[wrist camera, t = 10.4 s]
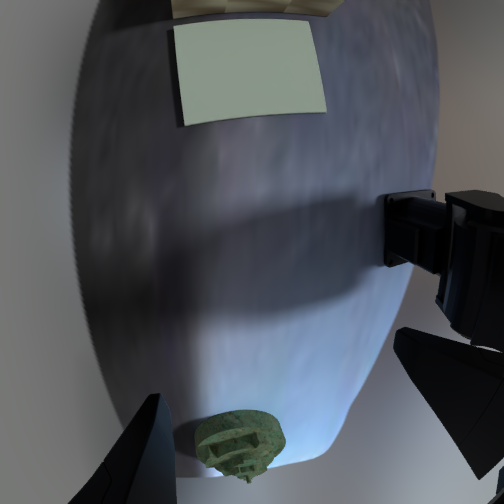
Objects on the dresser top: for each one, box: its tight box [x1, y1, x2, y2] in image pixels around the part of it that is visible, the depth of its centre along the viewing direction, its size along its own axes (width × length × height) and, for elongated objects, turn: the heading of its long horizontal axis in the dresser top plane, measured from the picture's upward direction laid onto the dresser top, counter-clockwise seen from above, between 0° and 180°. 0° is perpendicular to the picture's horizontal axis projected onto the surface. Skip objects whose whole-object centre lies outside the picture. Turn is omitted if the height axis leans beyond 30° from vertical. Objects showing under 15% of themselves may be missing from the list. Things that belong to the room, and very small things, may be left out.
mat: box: [174, 19, 327, 126], centre depth 16 cm, size 10×8×1 cm
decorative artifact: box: [194, 410, 286, 483], centre depth 23 cm, size 10×7×10 cm
